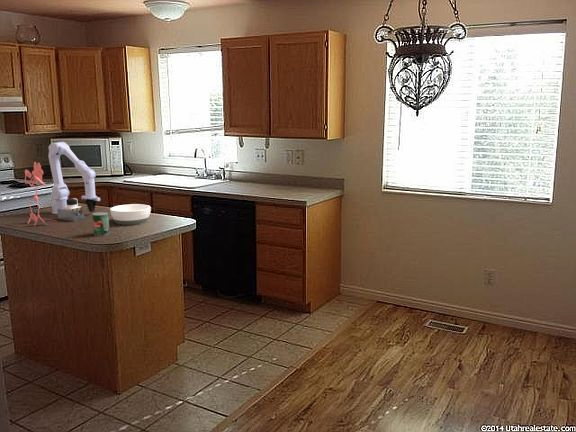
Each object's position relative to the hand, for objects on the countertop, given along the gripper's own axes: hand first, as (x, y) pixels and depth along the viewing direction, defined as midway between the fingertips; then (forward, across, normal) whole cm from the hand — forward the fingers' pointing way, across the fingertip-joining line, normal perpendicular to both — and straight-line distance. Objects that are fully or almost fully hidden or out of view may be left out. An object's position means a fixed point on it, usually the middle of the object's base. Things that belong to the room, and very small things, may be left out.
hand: (91, 211), depth 327 cm
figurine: (+2, +5, +30) cm, 30 cm away
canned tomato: (+2, -45, +31) cm, 55 cm away
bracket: (+2, 0, +14) cm, 15 cm away
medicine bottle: (+2, 0, +13) cm, 13 cm away
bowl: (+2, -36, +2) cm, 36 cm away
